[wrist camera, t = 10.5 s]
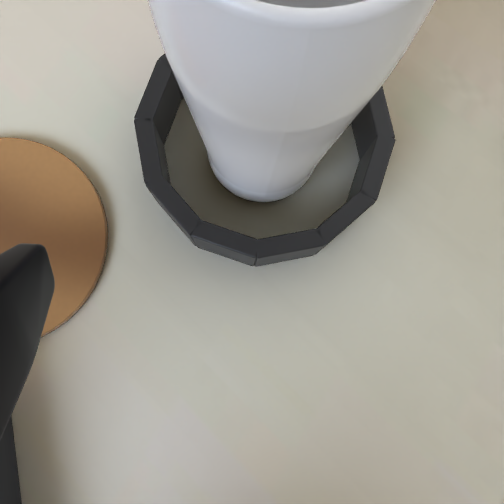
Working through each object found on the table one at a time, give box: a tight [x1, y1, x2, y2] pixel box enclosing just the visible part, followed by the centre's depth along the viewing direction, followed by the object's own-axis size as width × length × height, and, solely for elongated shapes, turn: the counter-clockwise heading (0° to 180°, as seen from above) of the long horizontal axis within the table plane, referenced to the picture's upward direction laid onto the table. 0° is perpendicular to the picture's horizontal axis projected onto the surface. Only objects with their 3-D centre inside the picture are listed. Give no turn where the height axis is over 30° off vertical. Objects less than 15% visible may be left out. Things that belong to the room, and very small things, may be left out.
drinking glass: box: [148, 0, 436, 202], centre depth 16 cm, size 7×7×15 cm
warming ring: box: [134, 54, 395, 266], centre depth 22 cm, size 11×11×3 cm
